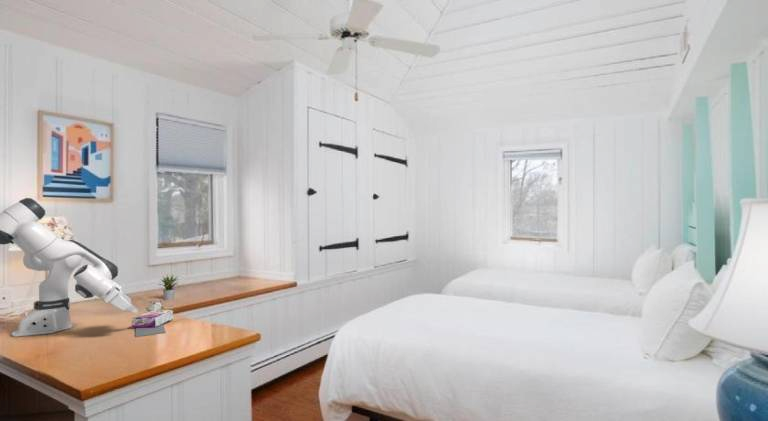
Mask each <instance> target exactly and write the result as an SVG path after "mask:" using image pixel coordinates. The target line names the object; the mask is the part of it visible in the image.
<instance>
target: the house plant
mask: <svg viewBox="0 0 768 421" xmlns="http://www.w3.org/2000/svg"><path fill="white" fill-rule="evenodd" d="M180 277H181V276H174V275H173V274H171V275H170V278H169V275H168V274H166V276H165V277H164V276H162V279H161V278H159V280H160V281H161V282H162V283H163V284H161V283H159V284H158V286H163V287H164V289H162V293H163V297H164V300H165V301H169V300H170V301H172V300H174V298H175V295H176V294H175V293H176V288H174V287H175V285H178V280H180V279H179V278H180ZM176 281H177V282H176Z"/></svg>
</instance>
